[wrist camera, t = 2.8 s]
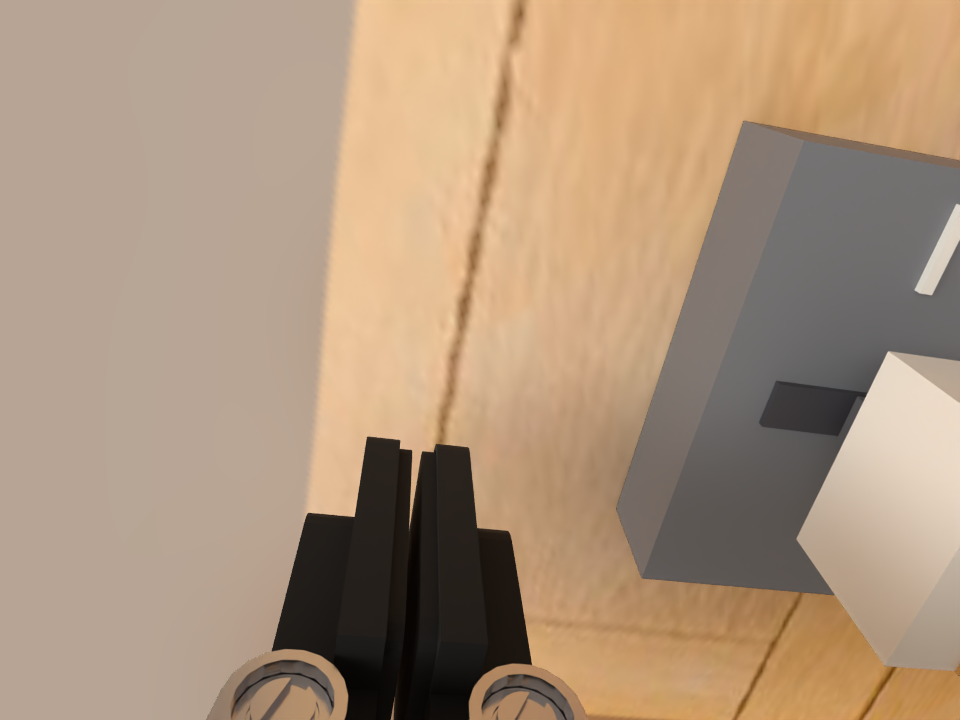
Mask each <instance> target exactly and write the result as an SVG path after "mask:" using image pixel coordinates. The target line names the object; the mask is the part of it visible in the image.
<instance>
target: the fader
mask: <svg viewBox="0 0 960 720" xmlns="http://www.w3.org/2000/svg"><path fill="white" fill-rule="evenodd" d="M834 446H835V447H836V448H837V449H838V450H839V453H838V455H837V457H836V459H835V461H834V463H833V465H832V467H831V469H830V471H829V473H828V475H827V477H826V479H825V481H824V483H823V486H822V488H821V490H820V492H819V494H818V496H817V498H816V500H815V502H814V504H813V506H812V508H811V510H810V512H809V514H808V516H807V518H806V520H805V522H804V524H803V526H802V528H801V530H800V533H799V535H798V537H797V539H796V540H797V541H798V542H799V544H800V545H801V547H802V548H803V550H804V551H805V552H806V554H807V555H808V557H809V558H810V560H811V561H812V563H813V564H814V565H815V567H816V568H817V570H818V571H819V573H820V574H821V576H822V577H823V578H824V580H825V581H826V583H827V584H828V586H829V587H830V588H831V590H832V591H833V593H834V594H835V596H836V597H837V599H838V600H839V601H840V603H841V604H842V606H843V607H844V609H845V610H846V612H847V613H848V614H849V616H850V617H851V619H852V620H853V622H854V623H855V624H856V626H857V627H858V629H859V630H860V632H861V633H862V635H863V636H864V637H865V639H866V640H867V642H868V643H869V645H870V646H871V648H872V649H873V650H874V652H875V653H876V655H877V656H878V658H879V659H880V660H881V662H882V663H883V665H884V666H891V667H904V668H918V669H932V670H945V671H955V672H956V673H957V675H958V676H960V361H955V360H948V359H941V358H934V357H927V356H920V355H913V354H906V353H898V352H891V351H888V353H887V355H886V357H885V359H884V361H883V363H882V365H881V367H880V369H879V371H878V373H877V375H876V377H875V379H874V381H873V383H872V385H871V387H870V389H869V392H868V394H867V396H866V397H859V396H857V398H856V400H855V402H854V404H853V406H852V409H851V411H850V413H849V415H848V417H847V419H846V421H845V423H844V425H843V427H842V429H841V431H840V433H839V435H838V438H837V440H836V442H835V444H834Z"/></svg>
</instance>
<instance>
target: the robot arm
mask: <svg viewBox="0 0 960 720" xmlns="http://www.w3.org/2000/svg"><path fill="white" fill-rule="evenodd" d="M411 468H412V450H405V449H400V440H395V439H385V438H376V437H367V441H366V447H365V454H364V460H363V467H362V473H361V480H360V486H359V493H358V499H357V506H356V512H355V517H348V516H337V515H326V514H315V513H308V514H307V516H306V519H305V522H304V526H303V530H302V534H301V538H300V542H299V546H298V550H297V554H296V558H295V562H294V566H293V569H292V573H291V577H290V581H289V585H288V589H287V593H286V597H285V601H284V605H283V609H282V613H281V617H280V621H279V624H278V628H277V632H276V636H275V640H274V644H273V648H272V652H268V653H264V654H262V655H260V656H258V657H256V658H254V659H251V660H249V661H247V662H246V663H245V664H244V665H242V666H241V667H240V668H239V669H237V670H236V671H235V672H234V673H233V674H232V675H231V676H230V678H229V679H228V681H227V682H226V683H225V685H224V686H223V688H222V689H221V691H220V693H219V695H218V697H217V699H216V701H215V703H214V705H213V707H212V709H211V711H210V713H209V715H208V717H207V719H206V720H391V715H392V709H393V703H394V720H588V718H587V715H586V713H585V710H584V708H583V706H582V705H581V703H580V701H579V699H578V697H577V696H576V694H575V693H574V692H573V691H572V690H571V689H570V688H569V686H568V685H567V684H566V683H565V682H564V681H563V680H561V679H560V678H558V677H557V676H555V675H553V674H552V673H550V672H549V671H547V670H544V669H541V668H538V667H535V666H532V662H531V656H530V650H529V644H528V637H527V631H526V625H525V619H524V613H523V607H522V600H521V594H520V588H519V582H518V576H517V570H516V564H515V557H514V551H513V545H512V540H511V536H510V533H509V532H508V531H502V530H491V529H480V528H477V523H476V512H475V502H474V491H473V481H472V471H471V460H470V451H469V448H468V447H460V446H451V445H441V444H436V445H435V449H434V452H424V451H422V455H421V460H420V466H419V473H418V479H417V485H416V491H415V498H414V504H413V510H412V517H411V523H410V529H409V518H410V493H411ZM394 697H395V701H394Z"/></svg>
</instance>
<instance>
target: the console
mask: <svg viewBox="0 0 960 720" xmlns="http://www.w3.org/2000/svg"><path fill="white" fill-rule="evenodd" d="M888 351H891V352H898V353H906V354H913V355H920V356H927V357H934V358H941V359H948V360H955V361H960V160H954V159H949V158H944V157H938V156H933V155H927V154H922V153H916V152H911V151H905V150H900V149H895V148H889V147H884V146H878V145H873V144H867V143H862V142H856V141H851V140H846V139H840V138H835V137H829V136H824V135H818V134H813V133H807V132H802V131H797V130H791V129H786V128H780V127H775V126H769V125H764V124H758V123H753V122H748V121H743V124H742V127H741V130H740V134H739V137H738V140H737V143H736V146H735V149H734V152H733V155H732V158H731V161H730V164H729V167H728V170H727V173H726V176H725V179H724V182H723V185H722V188H721V191H720V194H719V197H718V201H717V204H716V207H715V210H714V213H713V216H712V219H711V222H710V225H709V228H708V231H707V234H706V237H705V240H704V243H703V246H702V249H701V252H700V255H699V258H698V261H697V264H696V267H695V271H694V274H693V277H692V280H691V283H690V286H689V289H688V292H687V295H686V298H685V301H684V304H683V307H682V310H681V313H680V316H679V319H678V322H677V325H676V328H675V331H674V334H673V337H672V341H671V344H670V347H669V350H668V353H667V356H666V359H665V362H664V365H663V368H662V371H661V374H660V377H659V380H658V383H657V386H656V389H655V392H654V395H653V398H652V401H651V404H650V407H649V411H648V414H647V417H646V420H645V423H644V426H643V429H642V432H641V435H640V438H639V441H638V444H637V447H636V450H635V453H634V456H633V459H632V462H631V465H630V468H629V471H628V474H627V478H626V481H625V484H624V487H623V490H622V493H621V496H620V499H619V502H618V505H617V508H616V510H617V513H618V516H619V518H620V521H621V524H622V526H623V529H624V532H625V535H626V537H627V540H628V543H629V545H630V548H631V551H632V554H633V556H634V559H635V562H636V564H637V567H638V570H639V572H640V575H641V578H643V579H655V580H666V581H677V582H689V583H700V584H712V585H723V586H735V587H746V588H758V589H769V590H780V591H792V592H803V593H815V594H826V595H835V594H834V593H833V591H832V590H831V588H830V587H829V586H828V584H827V583H826V581H825V580H824V578H823V577H822V576H821V574H820V573H819V571H818V570H817V568H816V567H815V565H814V564H813V563H812V561H811V560H810V558H809V557H808V555H807V554H806V552H805V551H804V550H803V548H802V547H801V545H800V544H799V542H798V541H797V540H796V539H797V537H798V535H799V533H800V530H801V528H802V526H803V524H804V522H805V520H806V518H807V516H808V514H809V512H810V510H811V508H812V506H813V504H814V502H815V500H816V498H817V496H818V494H819V492H820V490H821V488H822V486H823V483H824V481H825V479H826V477H827V475H828V473H829V471H830V469H831V467H832V465H833V463H834V461H835V459H836V457H837V455H838V453H839V450H838V449H837V448H836V447H835V446H834V444H835V442H836V440H837V438H838V435H839V433H840V431H841V429H842V427H843V425H844V423H845V421H846V419H847V417H848V415H849V413H850V411H851V409H852V406H853V404H854V402H855V400H856V398H857V396H859V397H866V396H867V394H868V392H869V389H870V387H871V385H872V383H873V381H874V379H875V377H876V375H877V373H878V371H879V369H880V367H881V365H882V363H883V361H884V359H885V357H886V355H887V353H888Z"/></svg>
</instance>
